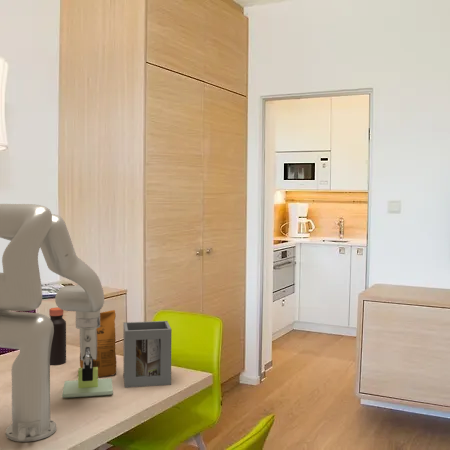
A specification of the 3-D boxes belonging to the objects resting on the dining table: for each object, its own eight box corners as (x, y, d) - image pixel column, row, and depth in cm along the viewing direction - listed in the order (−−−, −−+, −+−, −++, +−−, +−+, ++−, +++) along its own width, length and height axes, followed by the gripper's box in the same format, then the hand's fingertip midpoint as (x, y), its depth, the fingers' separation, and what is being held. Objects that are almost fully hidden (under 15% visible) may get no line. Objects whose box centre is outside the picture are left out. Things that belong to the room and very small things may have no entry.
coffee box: (162, 380, 188) (163, 333, 187) (147, 385, 184) (147, 337, 183) (146, 374, 195) (146, 328, 194) (130, 378, 190) (131, 331, 189)
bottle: (47, 360, 209) (46, 307, 208) (65, 359, 211) (65, 306, 210) (46, 365, 203) (46, 311, 202) (66, 364, 205) (66, 310, 204)
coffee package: (80, 369, 199) (79, 308, 198) (115, 367, 202) (115, 307, 201) (79, 379, 189) (79, 314, 188) (117, 376, 192) (117, 313, 191)
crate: (171, 384, 185) (171, 329, 184) (124, 387, 182) (125, 331, 181) (166, 372, 197) (167, 320, 196) (123, 375, 194) (123, 322, 192)
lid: (112, 397, 174) (112, 373, 174) (62, 400, 171) (62, 376, 170) (111, 384, 186) (111, 361, 185) (64, 387, 183) (64, 364, 182)
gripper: (100, 328, 169) (99, 384, 170) (100, 316, 186) (100, 366, 187) (74, 329, 168) (74, 385, 169) (76, 316, 185) (76, 368, 185)
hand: (87, 375), depth 178 cm, fingers open, 9 cm apart
